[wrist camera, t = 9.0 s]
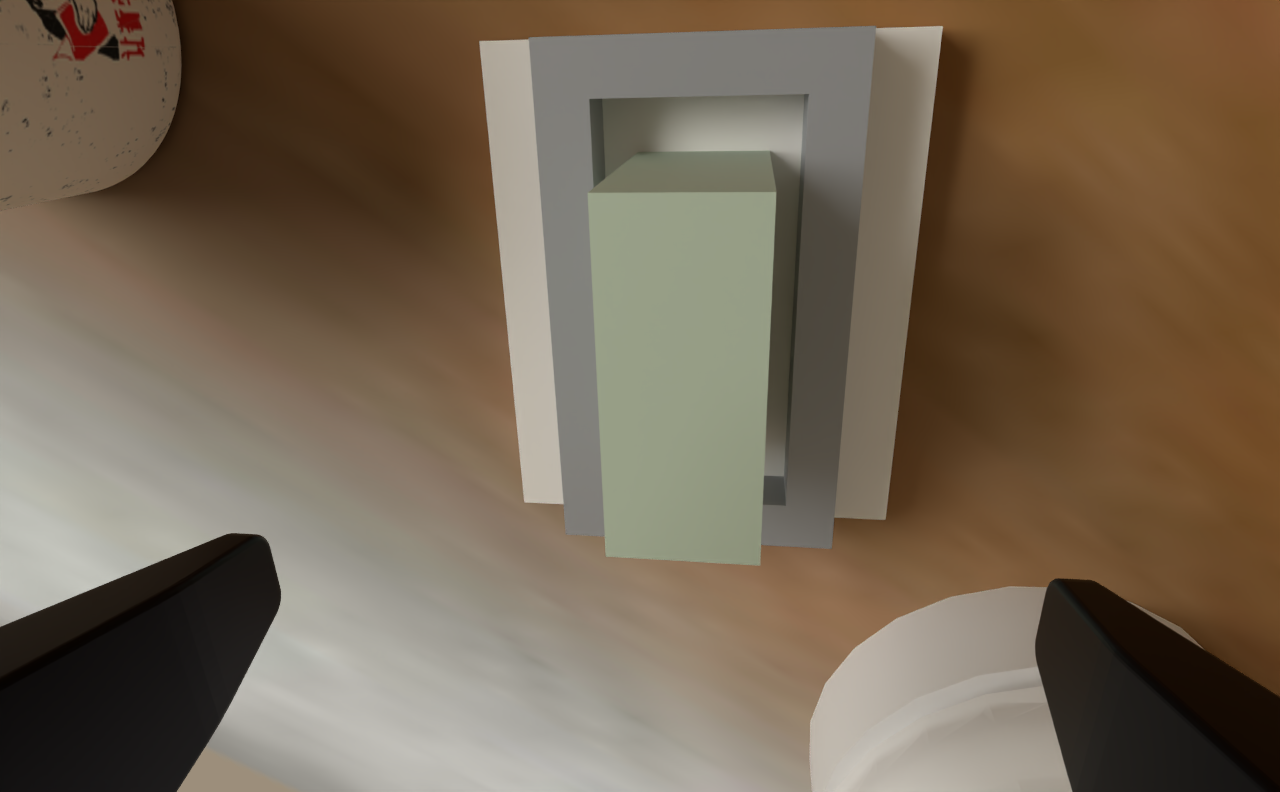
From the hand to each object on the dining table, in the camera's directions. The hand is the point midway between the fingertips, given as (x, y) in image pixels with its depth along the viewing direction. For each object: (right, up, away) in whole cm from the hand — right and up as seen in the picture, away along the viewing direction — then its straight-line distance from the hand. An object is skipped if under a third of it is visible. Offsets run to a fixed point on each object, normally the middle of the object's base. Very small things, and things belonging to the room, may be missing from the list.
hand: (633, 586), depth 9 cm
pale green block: (+2, +5, +10) cm, 11 cm away
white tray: (+2, +5, +11) cm, 12 cm away
